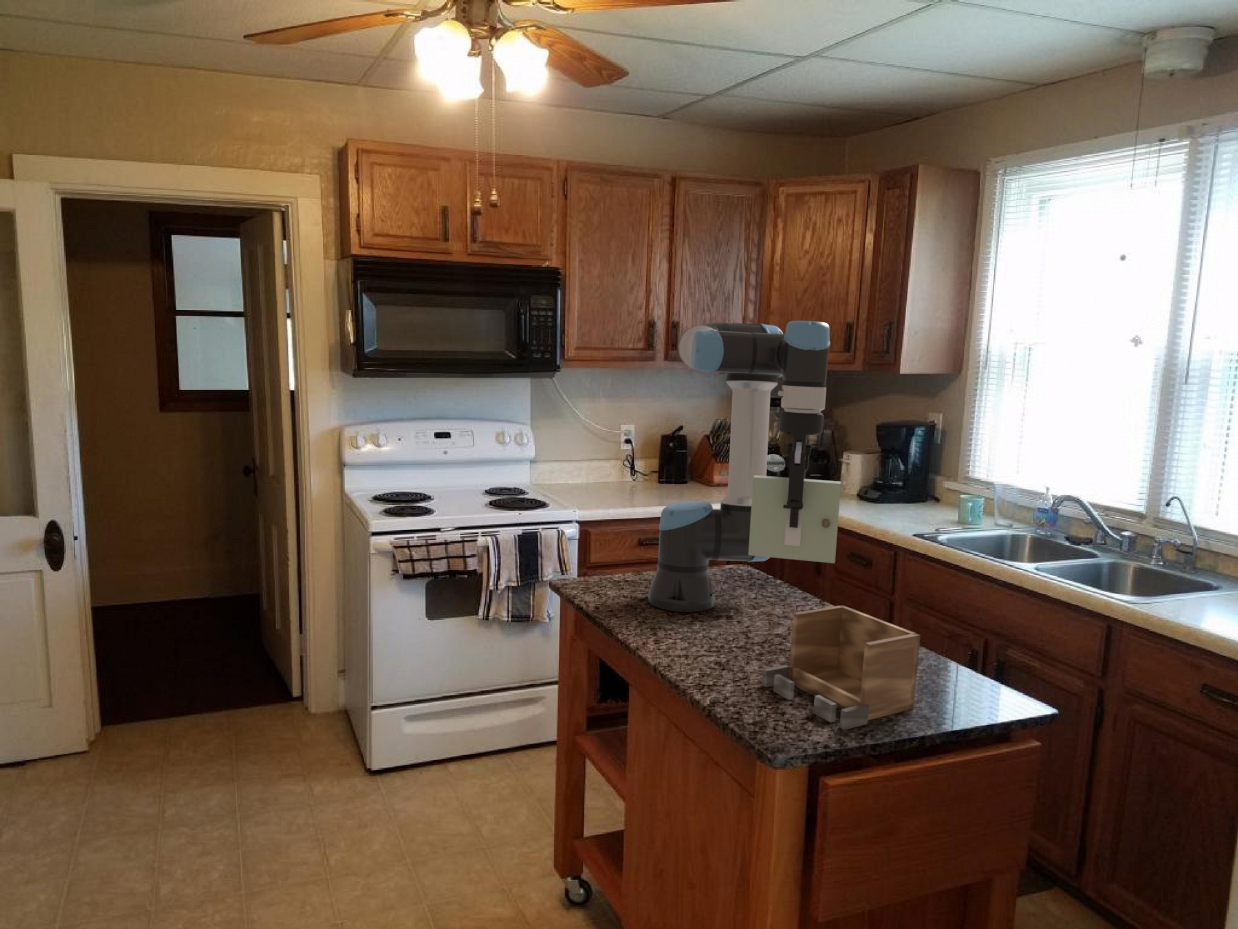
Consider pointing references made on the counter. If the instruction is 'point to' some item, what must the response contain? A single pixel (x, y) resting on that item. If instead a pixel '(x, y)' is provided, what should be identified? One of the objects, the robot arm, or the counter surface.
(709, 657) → the counter surface
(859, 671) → the carcass
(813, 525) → the door
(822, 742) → the counter surface
